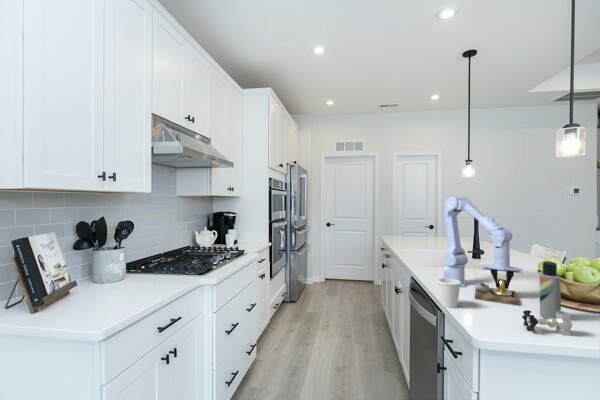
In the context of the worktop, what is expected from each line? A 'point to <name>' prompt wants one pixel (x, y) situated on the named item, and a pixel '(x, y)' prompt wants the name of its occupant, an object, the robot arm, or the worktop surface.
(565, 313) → the valve
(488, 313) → the worktop surface
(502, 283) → the brass flanged knob
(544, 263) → the lotion bottle
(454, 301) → the dixie cup
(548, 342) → the worktop surface
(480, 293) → the carrier
